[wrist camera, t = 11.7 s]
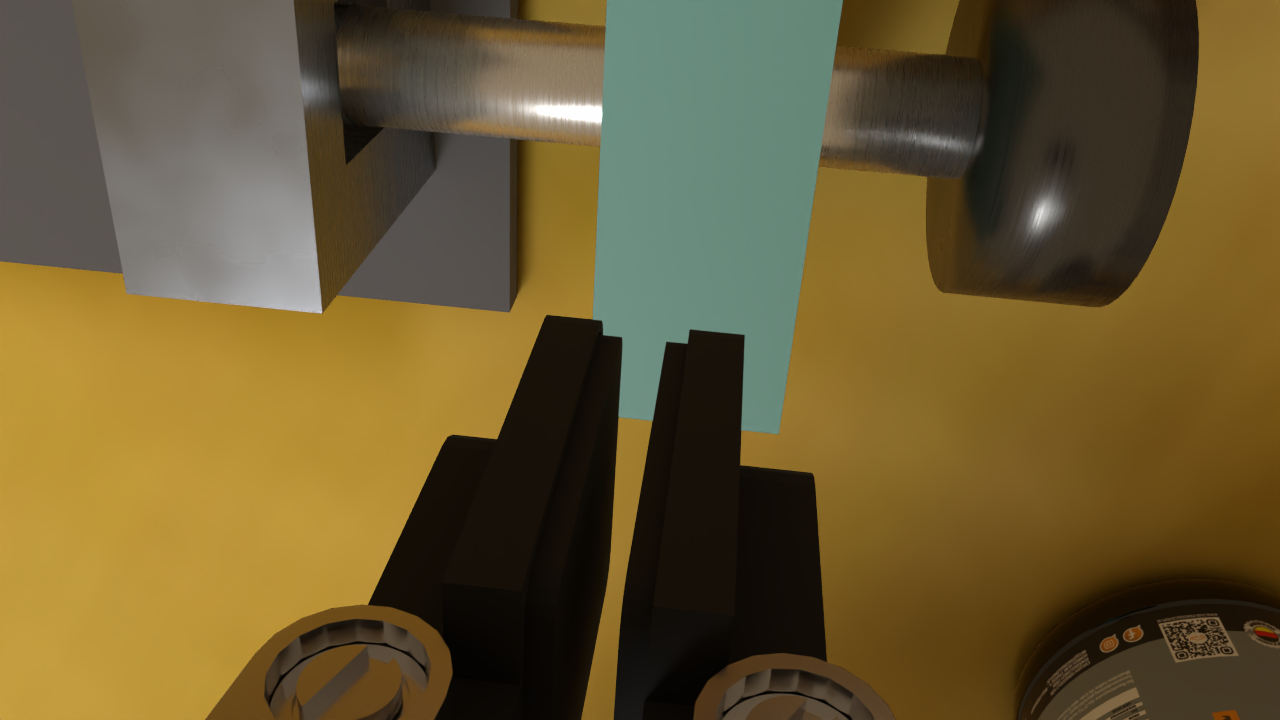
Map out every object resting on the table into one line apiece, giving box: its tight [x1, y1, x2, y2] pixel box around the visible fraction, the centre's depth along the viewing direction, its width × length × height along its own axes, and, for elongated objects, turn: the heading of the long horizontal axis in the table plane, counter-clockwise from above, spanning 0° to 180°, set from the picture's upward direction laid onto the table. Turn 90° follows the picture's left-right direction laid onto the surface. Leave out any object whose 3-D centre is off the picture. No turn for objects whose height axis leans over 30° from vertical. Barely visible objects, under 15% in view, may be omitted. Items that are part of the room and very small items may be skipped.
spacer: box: [593, 0, 843, 434], centre depth 22 cm, size 9×4×9 cm, turn 177°
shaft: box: [334, 0, 1199, 307], centre depth 22 cm, size 7×19×7 cm, turn 87°
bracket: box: [72, 0, 435, 313], centre depth 23 cm, size 8×4×8 cm, turn 177°
